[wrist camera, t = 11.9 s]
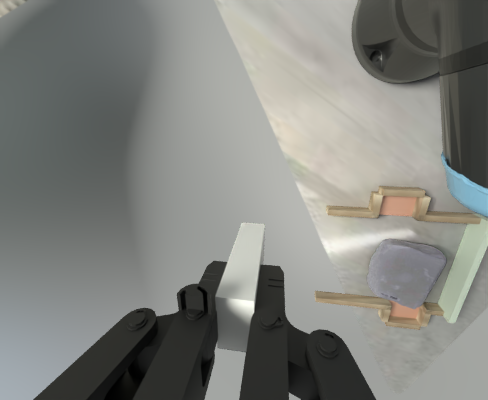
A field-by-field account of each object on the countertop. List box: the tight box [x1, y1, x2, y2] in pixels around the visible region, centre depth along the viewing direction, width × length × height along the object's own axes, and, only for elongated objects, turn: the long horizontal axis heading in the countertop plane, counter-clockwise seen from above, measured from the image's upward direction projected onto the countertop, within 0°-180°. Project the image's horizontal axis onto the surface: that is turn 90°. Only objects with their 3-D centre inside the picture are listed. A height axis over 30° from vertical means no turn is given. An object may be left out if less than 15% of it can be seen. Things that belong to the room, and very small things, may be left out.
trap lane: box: [315, 186, 488, 330], centre depth 41 cm, size 28×24×4 cm
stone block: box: [367, 239, 447, 309], centre depth 40 cm, size 12×5×10 cm
